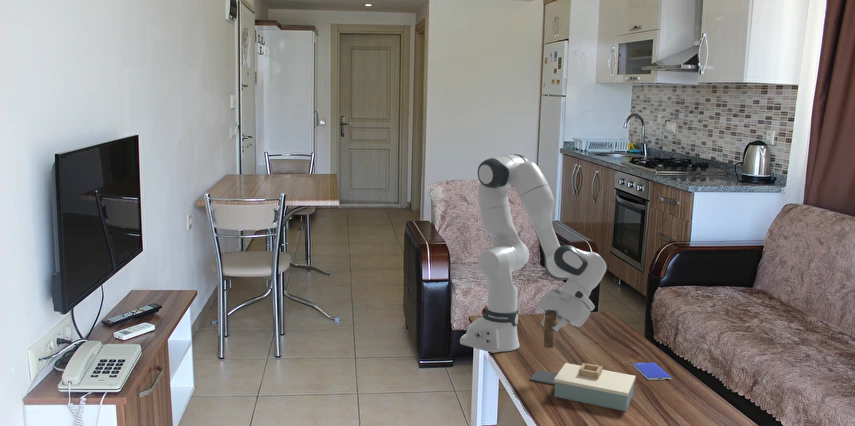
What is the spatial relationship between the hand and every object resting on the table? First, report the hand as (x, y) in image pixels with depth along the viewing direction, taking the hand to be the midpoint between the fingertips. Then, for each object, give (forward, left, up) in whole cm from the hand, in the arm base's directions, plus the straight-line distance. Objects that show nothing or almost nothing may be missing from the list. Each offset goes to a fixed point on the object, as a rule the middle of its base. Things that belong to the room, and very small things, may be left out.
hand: (548, 327), depth 228 cm
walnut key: (0, +1, -7) cm, 7 cm away
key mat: (0, +1, -18) cm, 18 cm away
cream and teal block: (+17, -5, -18) cm, 25 cm away
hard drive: (+31, +23, -19) cm, 43 cm away
